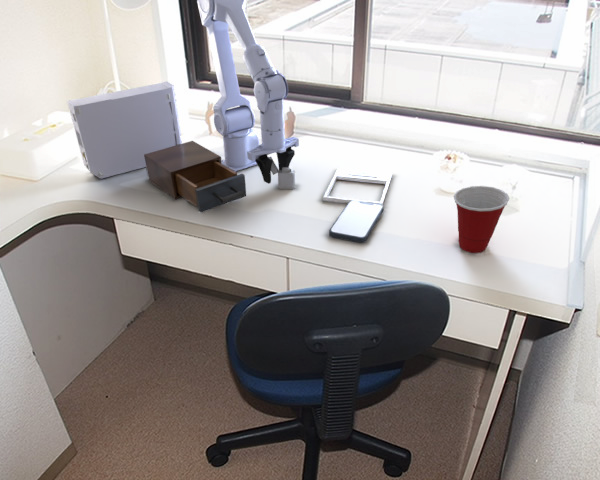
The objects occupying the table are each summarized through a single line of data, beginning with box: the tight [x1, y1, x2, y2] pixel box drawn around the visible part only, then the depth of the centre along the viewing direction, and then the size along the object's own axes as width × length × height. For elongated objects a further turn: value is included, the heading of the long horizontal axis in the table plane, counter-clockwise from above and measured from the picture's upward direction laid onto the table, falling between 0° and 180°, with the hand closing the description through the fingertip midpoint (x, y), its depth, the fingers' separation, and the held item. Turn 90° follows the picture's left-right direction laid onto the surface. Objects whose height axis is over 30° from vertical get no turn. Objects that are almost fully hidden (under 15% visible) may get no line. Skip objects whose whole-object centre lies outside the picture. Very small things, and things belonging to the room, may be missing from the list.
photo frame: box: [322, 167, 393, 206], centre depth 142 cm, size 15×1×18 cm
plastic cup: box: [453, 185, 510, 254], centre depth 116 cm, size 11×11×12 cm
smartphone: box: [328, 200, 385, 244], centre depth 127 cm, size 9×2×16 cm
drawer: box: [174, 161, 247, 213], centre depth 136 cm, size 18×13×6 cm
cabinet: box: [144, 140, 222, 200], centre depth 145 cm, size 14×14×7 cm
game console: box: [66, 81, 183, 179], centre depth 150 cm, size 6×27×20 cm, turn 124°
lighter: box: [268, 156, 296, 190], centre depth 141 cm, size 7×2×8 cm, turn 86°
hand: (275, 179), depth 143 cm, fingers closed on lighter, 4 cm apart
